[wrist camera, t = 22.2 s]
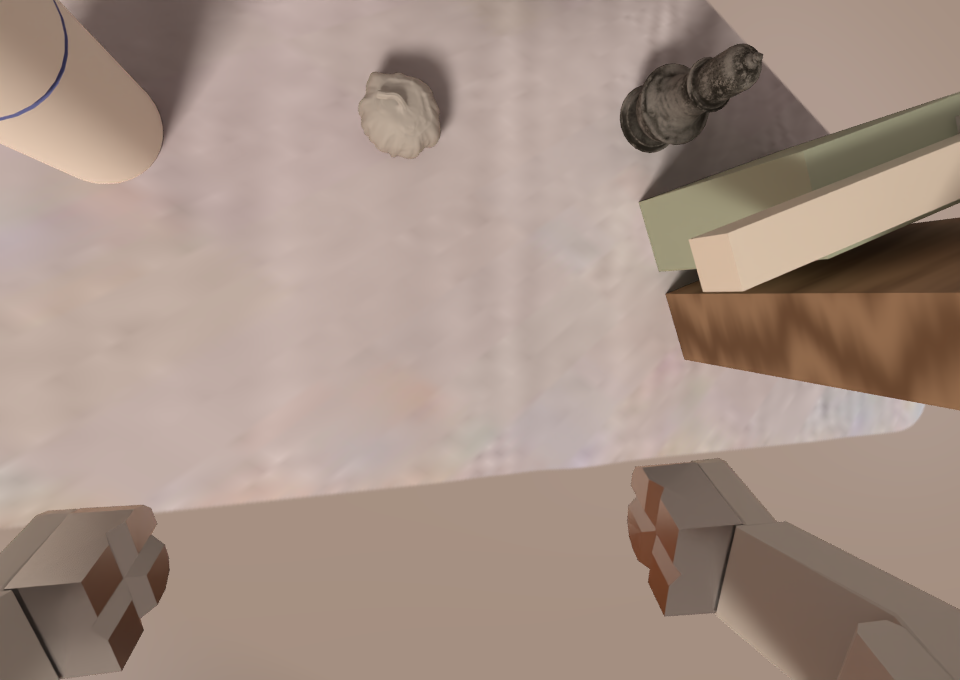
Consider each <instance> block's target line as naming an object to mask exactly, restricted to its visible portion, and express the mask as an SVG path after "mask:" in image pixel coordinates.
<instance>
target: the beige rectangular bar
mask: <svg viewBox="0 0 960 680" xmlns="http://www.w3.org/2000/svg"><path fill="white" fill-rule="evenodd" d="M955 119H956V125H957V130H958V134H957V135H954V136H952V137H949V138H947V139H944V140H942V141H939V142H937V143H934V144H931V145H929V146H926V147H924V148H921V149H919V150H916V151H914V152H911V153H908V154H906V155H903V156H901V157H898V158H896V159H893V160H891V161H888V162H885V163H883V164H880V165H878V166H875V167H873V168H870V169H868V170H865V171H862V172H860V173H857V174H855V175H852V176H850V177H847V178H845V179H842V180H839V181H837V182H834V183H832V184H829V185H827V186H824V187H822V188H819V189H816V190H814V191H811V192H809V193H806V194H804V195H801V196H799V197H796V198H793V199H791V200H788V201H786V202H783V203H781V204H778V205H776V206H773V207H770V208H768V209H765V210H763V211H760V212H758V213H755V214H753V215H750V216H747V217H745V218H742V219H740V220H737V221H735V222H732V223H730V224H727V225H724V226H722V227H719V228H717V229H714V230H712V231H709V232H707V233H704V234H701V235H699V236H696V237H694V238H691V239H689V243H690V247H691V251H692V254H693V258H694V261H695V265H696V269H697V272H698V276H699V279H700V283H701V286H702V290H703V292H734V291H745V290H747V289H750V288H752V287H754V286H757V285H759V284H761V283H764V282H766V281H768V280H771V279H773V278H775V277H778V276H780V275H783V274H785V273H787V272H790V271H792V270H794V269H797V268H799V267H801V266H804V265H806V264H808V263H811V262H813V261H815V260H818V259H820V258H822V257H825V256H827V255H829V254H832V253H834V252H836V251H839V250H841V249H843V248H846V247H848V246H850V245H853V244H855V243H857V242H860V241H862V240H864V239H867V238H869V237H871V236H874V235H876V234H878V233H881V232H883V231H885V230H888V229H890V228H892V227H895V226H897V225H899V224H902V223H904V222H907V221H909V220H911V219H914V218H916V217H918V216H921V215H923V214H925V213H928V212H930V211H932V210H935V209H937V208H939V207H942V206H944V205H946V204H949V203H951V202H953V201H956V200H958V199H960V115H959V116H956V117H955Z"/></svg>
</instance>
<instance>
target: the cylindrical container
mask: <svg viewBox="0 0 960 680" xmlns="http://www.w3.org/2000/svg"><path fill="white" fill-rule="evenodd" d="M162 141H163V126H162V121H161V117H160V114H159V112H158V110H157V107H156V105H155V104H154V102H153V101H152V99H151V98H150V97H149V95H148V94H147V93H146V92H145V91H144V90H143V89H142V88H141V87H140V85H139V84H138V83H137V82H136V81H135V80H134V79H133V78H132V77H131V76H130V75H129V74H128V73H127V72H126V71H125V70H124V69H123V68H122V67H121V66H120V64H119V63H118V62H117V61H116V60H115V59H114V58H113V57H112V56H111V55H110V54H109V53H108V52H107V51H106V50H105V49H104V48H103V47H102V46H101V45H100V43H99V42H98V41H97V40H96V39H95V38H94V37H93V36H92V35H91V34H90V33H89V32H88V31H87V30H86V29H85V28H84V27H83V26H82V25H81V23H80V22H79V21H78V20H77V19H76V18H75V17H74V16H73V15H72V14H71V13H70V12H69V11H68V10H67V9H66V8H65V7H64V6H63V5H62V4H61V2H60V1H59V0H0V144H3V145H5V146H7V147H9V148H11V149H14V150H16V151H18V152H20V153H23V154H25V155H27V156H29V157H32V158H34V159H36V160H38V161H41V162H43V163H45V164H47V165H49V166H52V167H54V168H56V169H58V170H61V171H63V172H65V173H67V174H70V175H72V176H74V177H76V178H79V179H81V180H84V181H88V182H92V183H100V184H113V183H121V182H124V181H128V180H131V179H133V178H135V177H137V176H139V175H140V174H142V173H143V172H144V171H146V170H147V169H148V168H149V167H150V166H151V165H152V163H153V162H154V161H155V159H156V158H157V156H158V154H159V152H160V149H161V145H162Z"/></svg>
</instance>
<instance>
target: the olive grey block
mask: <svg viewBox="0 0 960 680" xmlns="http://www.w3.org/2000/svg"><path fill="white" fill-rule="evenodd" d="M959 115H960V92H958V93H955V94H952V95H949V96H946V97H943V98H940V99H937V100H933V101H931V102H927V103H924V104H921V105H918V106H915V107H912V108H909V109H906V110H903V111H900V112H897V113H894V114H891V115H888V116H885V117H882V118H879V119H876V120H873V121H870V122H866V123H863V124H860V125H857V126H854V127H851V128H848V129H846V130H842V131H839V132H836V133H833V134H830V135H827V136H824V137H821V138H818V139H815V140H812V141H809V142H806V143H803V144H800V145H796V146H793V147H790V148H787V149H784V150H781V151H779V152H776V153H773V154H770V155H768V156H765V157H762V158H759V159H757V160H754V161H751V162H748V163H746V164H743V165H740V166H737V167H735V168H732V169H729V170H726V171H724V172H721V173H718V174H715V175H713V176H710V177H707V178H704V179H702V180H699V181H696V182H693V183H691V184H688V185H685V186H682V187H680V188H677V189H674V190H671V191H669V192H666V193H663V194H660V195H658V196H655V197H652V198H649V199H647V200H644V201H641V202H639V204H640V208H641V211H642V215H643V218H644V222H645V225H646V229H647V232H648V235H649V239H650V242H651V246H652V249H653V253H654V256H655V260H656V263H657V266H658V270H659V272H661V271H675V270H688V269H696V265H695V261H694V258H693V254H692V251H691V247H690V243H689V239H691V238H694V237H696V236H699V235H701V234H704V233H707V232H709V231H712V230H714V229H717V228H719V227H722V226H724V225H727V224H730V223H732V222H735V221H737V220H740V219H742V218H745V217H747V216H750V215H753V214H755V213H758V212H760V211H763V210H765V209H768V208H770V207H773V206H776V205H778V204H781V203H783V202H786V201H788V200H791V199H793V198H796V197H799V196H801V195H804V194H806V193H809V192H811V191H814V190H816V189H819V188H822V187H824V186H827V185H829V184H832V183H834V182H837V181H839V180H842V179H845V178H847V177H850V176H852V175H855V174H857V173H860V172H862V171H865V170H868V169H870V168H873V167H875V166H878V165H880V164H883V163H885V162H888V161H891V160H893V159H896V158H898V157H901V156H903V155H906V154H908V153H911V152H914V151H916V150H919V149H921V148H924V147H926V146H929V145H931V144H934V143H937V142H939V141H942V140H944V139H947V138H949V137H952V136H954V135H957V134H958V130H957V125H956V119H955V117H956V116H959ZM958 203H960V199H958V200H956V201H953V202H951V203H949V204H946V205H944V206H942V207H939V208H937V209H935V210H932V211H930V212H928V213H925V214H923V215H921V216H918V217H916V218H914V219H911V220H909V221H907V222H904V223H902V224H899V225H897V226H895V227H892V228H890V229H888V230H885V231H883V232H881V233H878V234H876V235H874V236H871V237H869V238H867V239H864V240H862V241H860V242H857V243H855V244H853V245H850V246H848V247H846V248H843V249H841V250H839V251H836V252H834V253H832V254H829V255H827V256H825V257H822V258H820V259H818V260H821V259H829V258H832V257H834V256H836V255H839V254H841V253H843V252H846V251H848V250H850V249H853V248H855V247H857V246H860V245H862V244H864V243H867V242H869V241H871V240H874V239H876V238H878V237H881V236H883V235H885V234H888V233H890V232H892V231H895V230H897V229H899V228H902V227H904V226H906V225H909V224H911V223H913V222H916V221H918V220H920V219H923V218H925V217H927V216H930V215H932V214H934V213H937V212H939V211H941V210H944V209H946V208H948V207H951V206H953V205H955V204H958Z"/></svg>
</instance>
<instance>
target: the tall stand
mask: <svg viewBox="0 0 960 680" xmlns="http://www.w3.org/2000/svg"><path fill="white" fill-rule="evenodd" d="M666 297H667V301H668V304H669V308H670V311H671V315H672V318H673V322H674V325H675V328H676V332H677V335H678V339H679V342H680V346H681V349H682V353H683V356H684V359H685V360H690V361H695V362H701V363H706V364H711V365H717V366H722V367H728V368H733V369H739V370H744V371H749V372H755V373H760V374H766V375H771V376H776V377H782V378H787V379H793V380H798V381H804V382H809V383H814V384H820V385H825V386H831V387H836V388H841V389H847V390H852V391H858V392H863V393H869V394H874V395H879V396H885V397H890V398H896V399H901V400H906V401H912V402H917V403H923V404H928V405H934V406H939V407H945V408H950V409H955V410H960V218H953V219H945V220H937V221H929V222H921V223H913V224H909V225H906V226H904V227H902V228H899V229H897V230H895V231H892V232H890V233H888V234H885V235H883V236H881V237H878V238H876V239H874V240H871V241H869V242H867V243H864V244H862V245H860V246H857V247H855V248H853V249H850V250H848V251H846V252H843V253H841V254H839V255H836V256H834V257H832V258H829V259H821V260H815V261H813V262H811V263H808V264H806V265H804V266H801V267H799V268H797V269H794V270H792V271H790V272H787V273H785V274H783V275H780V276H778V277H775V278H773V279H771V280H768V281H766V282H764V283H761V284H759V285H757V286H754V287H752V288H750V289H747V290H745V291H734V292H703V290H702V286H701V283H700V280H699V281H696V282H694V283H691V284H689V285H686V286H684V287H682V288H679V289H677V290H674V291H672V292H669V293H667V294H666Z"/></svg>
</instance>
